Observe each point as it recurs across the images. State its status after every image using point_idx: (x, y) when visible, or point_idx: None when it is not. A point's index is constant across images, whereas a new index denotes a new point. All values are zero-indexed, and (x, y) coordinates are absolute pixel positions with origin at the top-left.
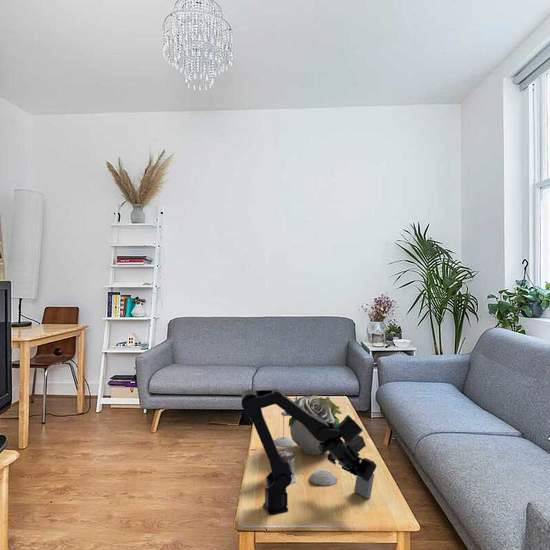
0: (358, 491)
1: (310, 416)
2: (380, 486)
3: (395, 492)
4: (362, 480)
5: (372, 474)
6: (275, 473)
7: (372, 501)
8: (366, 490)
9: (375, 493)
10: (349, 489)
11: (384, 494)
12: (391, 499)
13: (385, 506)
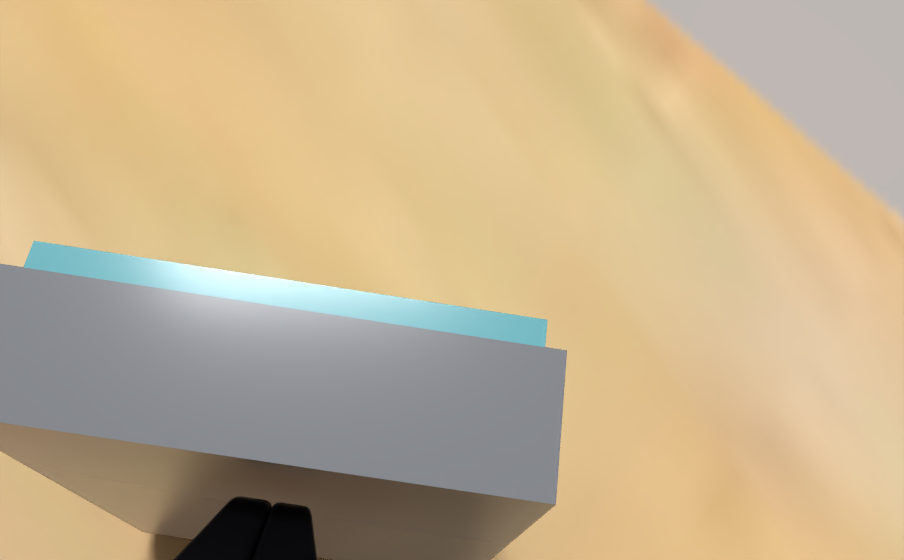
0: None
1: None
2: (359, 8)
3: (638, 8)
4: None
5: (556, 423)
6: None
7: (568, 545)
8: (441, 557)
9: (441, 271)
10: (23, 502)
11: (561, 189)
12: (730, 246)
13: (805, 516)
